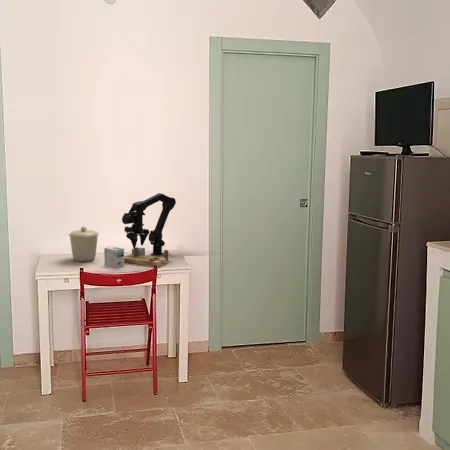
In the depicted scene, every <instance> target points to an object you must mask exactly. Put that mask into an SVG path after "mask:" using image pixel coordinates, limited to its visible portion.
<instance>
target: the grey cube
mask: <svg viewBox="0 0 450 450" xmlns="http://www.w3.org/2000/svg"><path fill="white" fill-rule="evenodd" d="M135 248H138V255H143V256H146V247H137V246H136V247H135ZM131 254H134V248H133V247H132V248H131Z"/></svg>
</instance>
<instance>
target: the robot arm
mask: <svg viewBox="0 0 450 450" xmlns="http://www.w3.org/2000/svg"><path fill="white" fill-rule="evenodd" d="M158 202H162V203H161V207H162V210H161V212H160V214H159V217H158V220H157V221H156V222H157V223H156V225H155V228H154V229H153V230H149V229H148V228H143V227H144V226H145V224H144V222H143V221H144V220H143V218H144V217H143V216H146V213H145V211H146V209H147V208H149V207H150V206H152V205H154V204H156V203H158ZM176 203H177V201H176V198H175V197H171V196H168V195H166V194H164V193H160V192H159V193H156V194H155V195H152V196H150V197H149V198H146V199H144V200H141V201H139V200H138V201H136V202H135V201H134V202H133V203H132V204H131V207H130V209H129V211H128V212H124V213H123V215H122V218H121V221H122V224H123V225H130V224H131V226H125V227H124V229H123V230H124V232H125V233H126V238H127V239H129V241H130V242H131V246H132V249H133V248H136V247H137V242H138V238H139V239H140V246H144V244H145V241H146V240H147V238H148V241H149V243H150V245H152V253H150V256H151V255H152V256H162V255H164V252H163V247H164V246H165V244H166V242H165V241H164V240H163V229H164V228H165V225H166V222H167V219H168V217H169V214H170V212H171V211H172V210H173V209H174V208H175V206H176Z"/></svg>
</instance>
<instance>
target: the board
mask: <svg viewBox="0 0 450 450" xmlns="http://www.w3.org/2000/svg"><path fill="white" fill-rule="evenodd" d="M127 263H128V264H129V265H134V264H136V266H142V265H143V266H144V267H151V268H154V267H153V266H154V265H157V266H158V268H160V267H162V266H161V265H163V264H165V265H167V264H168V262H167V258H164V257H158V256H151V255H150V256H149V255H145V256H143V255H138V248H136V247H135V248H134V254H132V253H130V254H128V255H124V264H127ZM166 263H167V264H166ZM159 266H160V267H159ZM163 266H164V265H163Z"/></svg>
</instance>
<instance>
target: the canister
mask: <svg viewBox="0 0 450 450" xmlns="http://www.w3.org/2000/svg"><path fill="white" fill-rule="evenodd" d="M99 235H100V234H99V233H98V232H97V231H95V230H92V229H87V227H86V226H81V227H80V229H77V230H73V231H71V232H70V233H68V236H69V239H70V247H71V253H72V258H73V260H74V261H76V262H83V263H84V262H91V261H93V260H94V259H96V255H97V248H98V247H97V246H98V236H99Z"/></svg>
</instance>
